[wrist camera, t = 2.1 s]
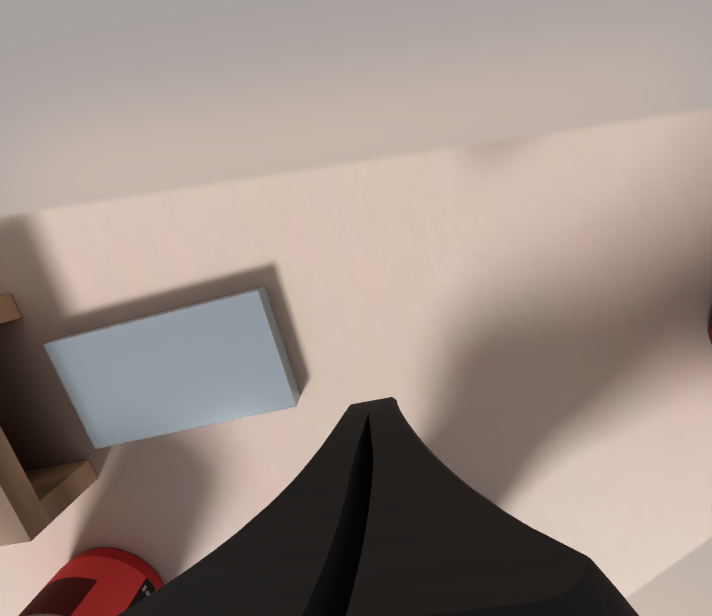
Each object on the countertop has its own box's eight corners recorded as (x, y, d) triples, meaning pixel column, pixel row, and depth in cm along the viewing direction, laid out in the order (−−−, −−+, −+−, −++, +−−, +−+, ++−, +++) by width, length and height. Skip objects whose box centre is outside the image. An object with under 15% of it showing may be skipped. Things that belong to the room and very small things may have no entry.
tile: (267, 284, 20) (257, 290, 18) (302, 391, 22) (296, 406, 20) (69, 334, 21) (42, 344, 20) (115, 431, 23) (94, 449, 21)
